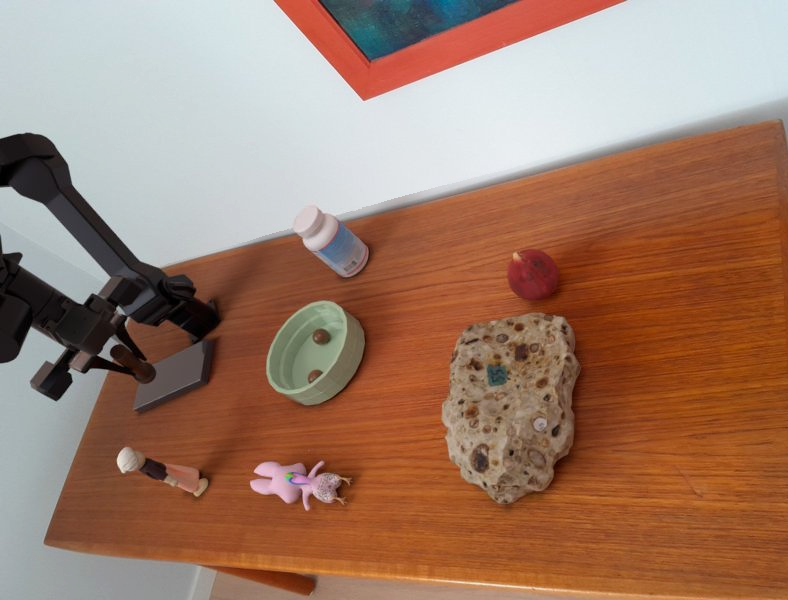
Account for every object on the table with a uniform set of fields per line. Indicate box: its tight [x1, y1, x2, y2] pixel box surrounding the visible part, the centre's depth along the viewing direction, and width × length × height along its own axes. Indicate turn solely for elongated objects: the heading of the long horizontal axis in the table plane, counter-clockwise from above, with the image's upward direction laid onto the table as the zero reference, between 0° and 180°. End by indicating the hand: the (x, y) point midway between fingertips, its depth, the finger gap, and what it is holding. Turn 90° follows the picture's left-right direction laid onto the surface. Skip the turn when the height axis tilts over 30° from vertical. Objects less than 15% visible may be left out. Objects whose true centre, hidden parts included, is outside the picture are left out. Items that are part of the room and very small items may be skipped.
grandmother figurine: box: [116, 446, 209, 498], centre depth 91 cm, size 8×4×13 cm, turn 71°
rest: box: [132, 338, 215, 414], centre depth 111 cm, size 8×16×2 cm, turn 95°
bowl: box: [265, 299, 366, 406], centre depth 92 cm, size 14×14×4 cm
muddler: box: [109, 343, 156, 384], centre depth 96 cm, size 3×3×12 cm
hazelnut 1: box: [312, 328, 330, 345], centre depth 94 cm, size 2×2×2 cm
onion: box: [506, 248, 560, 302], centre depth 76 cm, size 6×6×8 cm
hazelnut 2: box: [308, 370, 323, 384], centre depth 90 cm, size 2×2×2 cm
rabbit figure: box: [249, 460, 353, 512], centre depth 82 cm, size 6×6×15 cm
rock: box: [440, 312, 582, 506], centre depth 70 cm, size 21×14×10 cm
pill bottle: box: [292, 204, 370, 278], centre depth 97 cm, size 6×6×11 cm
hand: (140, 367), depth 95 cm, fingers closed on muddler, 2 cm apart
